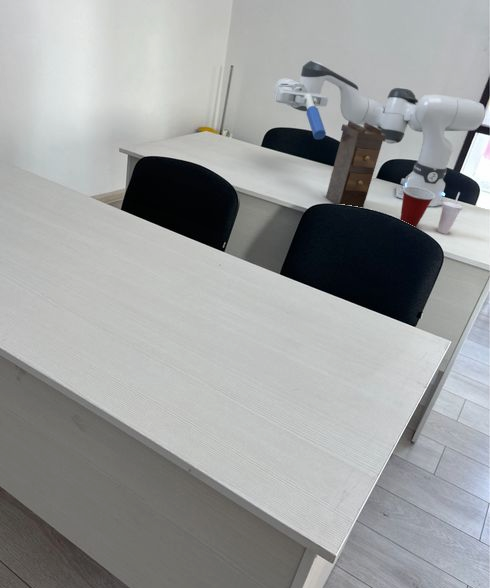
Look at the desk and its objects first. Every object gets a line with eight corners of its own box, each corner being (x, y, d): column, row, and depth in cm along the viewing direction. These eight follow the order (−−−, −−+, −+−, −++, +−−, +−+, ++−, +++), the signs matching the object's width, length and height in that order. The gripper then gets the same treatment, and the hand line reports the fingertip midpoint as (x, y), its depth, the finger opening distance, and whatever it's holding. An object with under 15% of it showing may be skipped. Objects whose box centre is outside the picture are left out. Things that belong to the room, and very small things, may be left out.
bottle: (299, 100, 221) (304, 91, 217) (310, 102, 222) (314, 92, 218) (311, 139, 212) (316, 129, 208) (322, 140, 213) (327, 130, 209)
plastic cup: (391, 225, 199) (402, 191, 193) (393, 216, 208) (403, 183, 202) (423, 233, 197) (436, 198, 190) (423, 224, 206) (435, 191, 199)
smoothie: (453, 236, 198) (469, 196, 191) (434, 232, 199) (449, 192, 192) (450, 230, 204) (465, 191, 197) (432, 226, 205) (446, 187, 197)
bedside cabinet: (324, 196, 218) (343, 119, 203) (349, 198, 221) (371, 122, 206) (340, 209, 206) (362, 129, 192) (367, 211, 210) (390, 132, 195)
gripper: (317, 105, 233) (332, 113, 222) (270, 100, 227) (283, 107, 216) (321, 89, 230) (336, 95, 219) (273, 83, 224) (286, 89, 213)
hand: (309, 101), depth 217 cm, fingers closed on bottle, 3 cm apart
